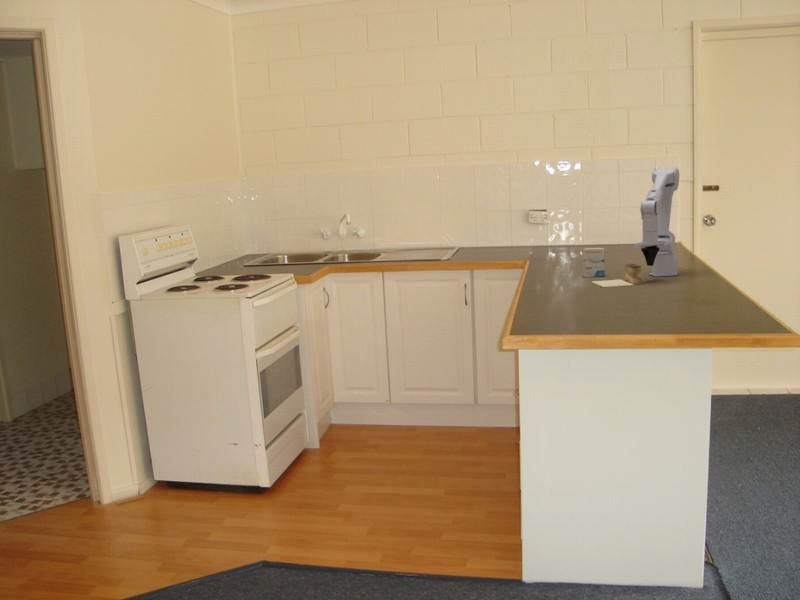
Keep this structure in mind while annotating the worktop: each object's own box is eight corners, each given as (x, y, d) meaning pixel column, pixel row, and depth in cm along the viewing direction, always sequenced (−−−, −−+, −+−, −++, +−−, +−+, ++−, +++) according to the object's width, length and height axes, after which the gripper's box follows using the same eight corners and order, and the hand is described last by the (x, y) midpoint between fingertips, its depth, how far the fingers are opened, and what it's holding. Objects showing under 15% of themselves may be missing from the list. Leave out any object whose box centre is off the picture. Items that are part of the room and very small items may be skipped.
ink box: (604, 274, 326) (604, 247, 324) (604, 276, 322) (604, 248, 320) (584, 275, 329) (583, 247, 327) (583, 277, 324) (583, 249, 322)
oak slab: (633, 281, 307) (633, 263, 306) (641, 283, 299) (641, 266, 298) (625, 281, 307) (624, 264, 306) (632, 284, 299) (632, 266, 298)
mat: (620, 280, 310) (620, 279, 310) (633, 285, 296) (633, 284, 296) (591, 282, 309) (591, 281, 309) (603, 287, 295) (603, 286, 295)
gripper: (656, 229, 307) (656, 262, 309) (628, 232, 300) (628, 266, 303) (669, 229, 300) (669, 264, 303) (641, 233, 294) (641, 268, 296)
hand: (650, 265), depth 302 cm, fingers closed
